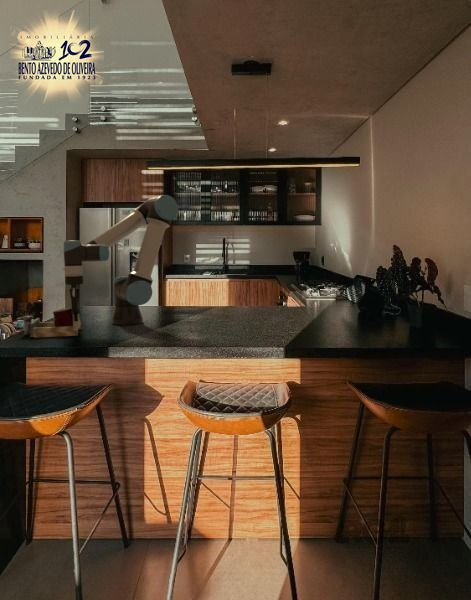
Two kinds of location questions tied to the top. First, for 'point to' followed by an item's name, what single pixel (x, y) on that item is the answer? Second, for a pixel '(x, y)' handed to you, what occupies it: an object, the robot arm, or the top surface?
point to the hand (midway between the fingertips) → (76, 328)
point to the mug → (63, 317)
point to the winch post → (27, 324)
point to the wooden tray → (51, 329)
